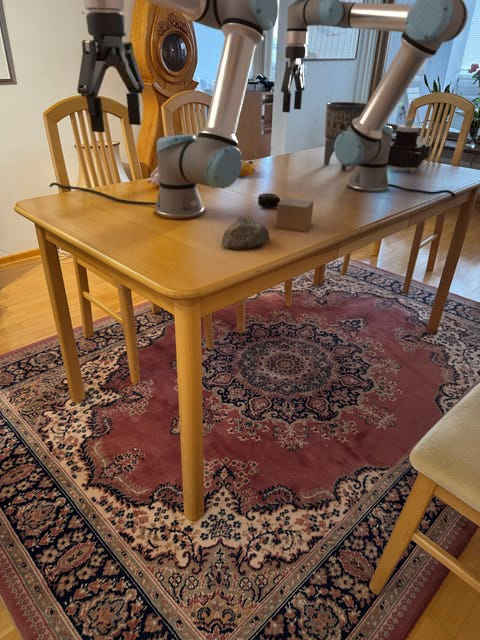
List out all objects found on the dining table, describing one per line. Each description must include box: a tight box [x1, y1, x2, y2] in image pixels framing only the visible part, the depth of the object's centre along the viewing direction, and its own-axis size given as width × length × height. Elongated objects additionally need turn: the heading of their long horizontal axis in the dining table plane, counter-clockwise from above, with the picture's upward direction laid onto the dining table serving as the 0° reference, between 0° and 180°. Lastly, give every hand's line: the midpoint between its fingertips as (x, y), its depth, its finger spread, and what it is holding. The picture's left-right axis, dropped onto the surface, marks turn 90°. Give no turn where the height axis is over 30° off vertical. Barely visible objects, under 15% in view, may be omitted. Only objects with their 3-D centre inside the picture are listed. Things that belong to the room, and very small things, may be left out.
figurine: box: [145, 166, 159, 186], centre depth 170 cm, size 8×15×13 cm, turn 145°
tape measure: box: [257, 192, 281, 209], centre depth 151 cm, size 7×7×4 cm
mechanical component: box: [386, 118, 432, 173], centre depth 206 cm, size 22×21×30 cm
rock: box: [221, 216, 270, 250], centre depth 119 cm, size 13×9×6 cm, turn 131°
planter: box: [323, 101, 368, 172], centre depth 204 cm, size 20×20×26 cm
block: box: [275, 197, 314, 233], centre depth 134 cm, size 7×9×7 cm
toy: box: [238, 160, 256, 178], centre depth 191 cm, size 11×6×15 cm
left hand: (117, 128), depth 101 cm, fingers open, 13 cm apart
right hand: (291, 110), depth 173 cm, fingers open, 13 cm apart
